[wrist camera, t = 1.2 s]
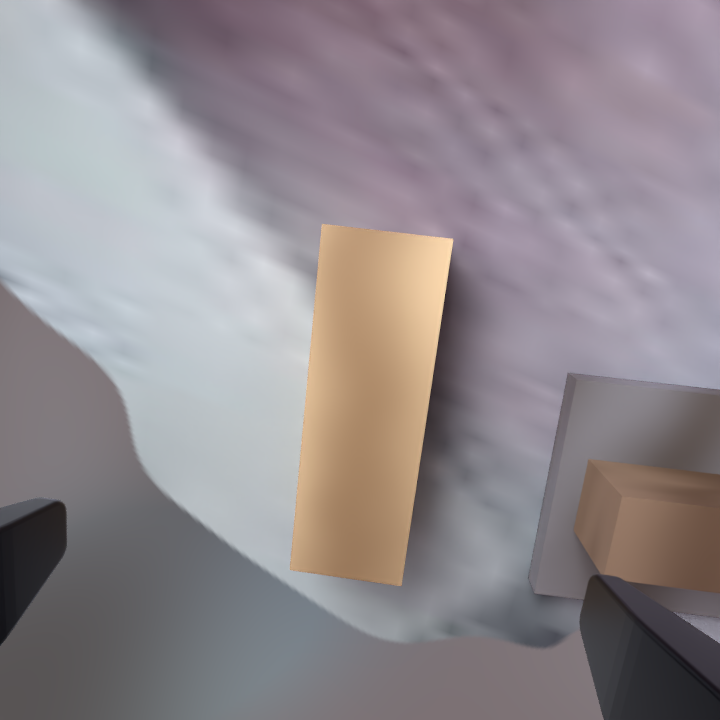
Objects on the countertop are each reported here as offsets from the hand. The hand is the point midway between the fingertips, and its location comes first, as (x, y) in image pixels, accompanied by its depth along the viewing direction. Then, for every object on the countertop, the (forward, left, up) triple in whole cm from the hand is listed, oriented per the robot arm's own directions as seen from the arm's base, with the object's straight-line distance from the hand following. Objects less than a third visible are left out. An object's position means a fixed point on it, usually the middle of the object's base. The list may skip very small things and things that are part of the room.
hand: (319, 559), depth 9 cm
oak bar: (0, 0, -12) cm, 12 cm away
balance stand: (-12, +3, -12) cm, 17 cm away
